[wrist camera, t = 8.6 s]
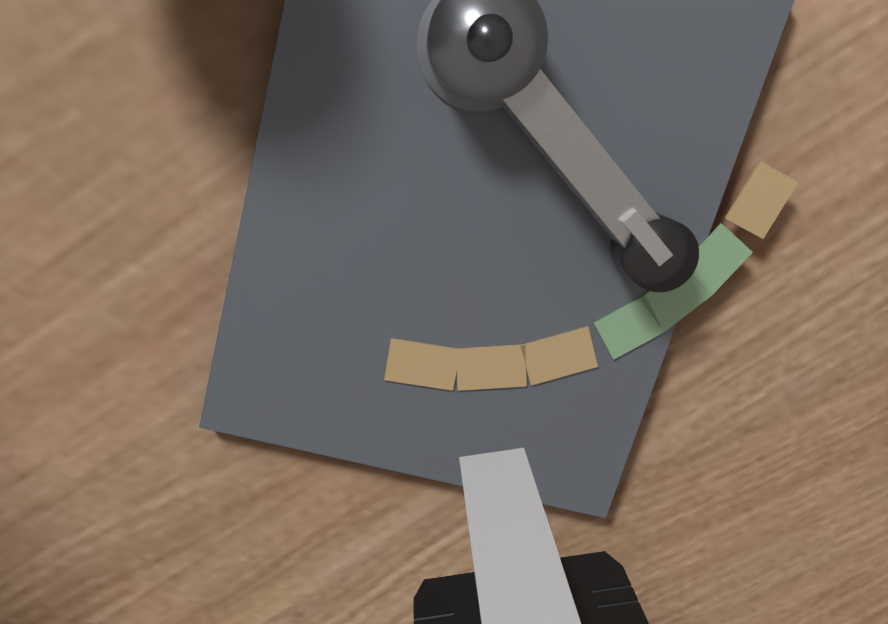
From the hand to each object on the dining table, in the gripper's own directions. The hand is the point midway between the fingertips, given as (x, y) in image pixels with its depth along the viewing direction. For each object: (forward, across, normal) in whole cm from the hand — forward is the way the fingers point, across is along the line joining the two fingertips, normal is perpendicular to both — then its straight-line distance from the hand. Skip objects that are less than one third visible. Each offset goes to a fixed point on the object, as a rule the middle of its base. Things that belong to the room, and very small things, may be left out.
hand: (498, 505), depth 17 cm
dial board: (+18, +3, +3) cm, 19 cm away
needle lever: (+17, +5, +7) cm, 19 cm away
